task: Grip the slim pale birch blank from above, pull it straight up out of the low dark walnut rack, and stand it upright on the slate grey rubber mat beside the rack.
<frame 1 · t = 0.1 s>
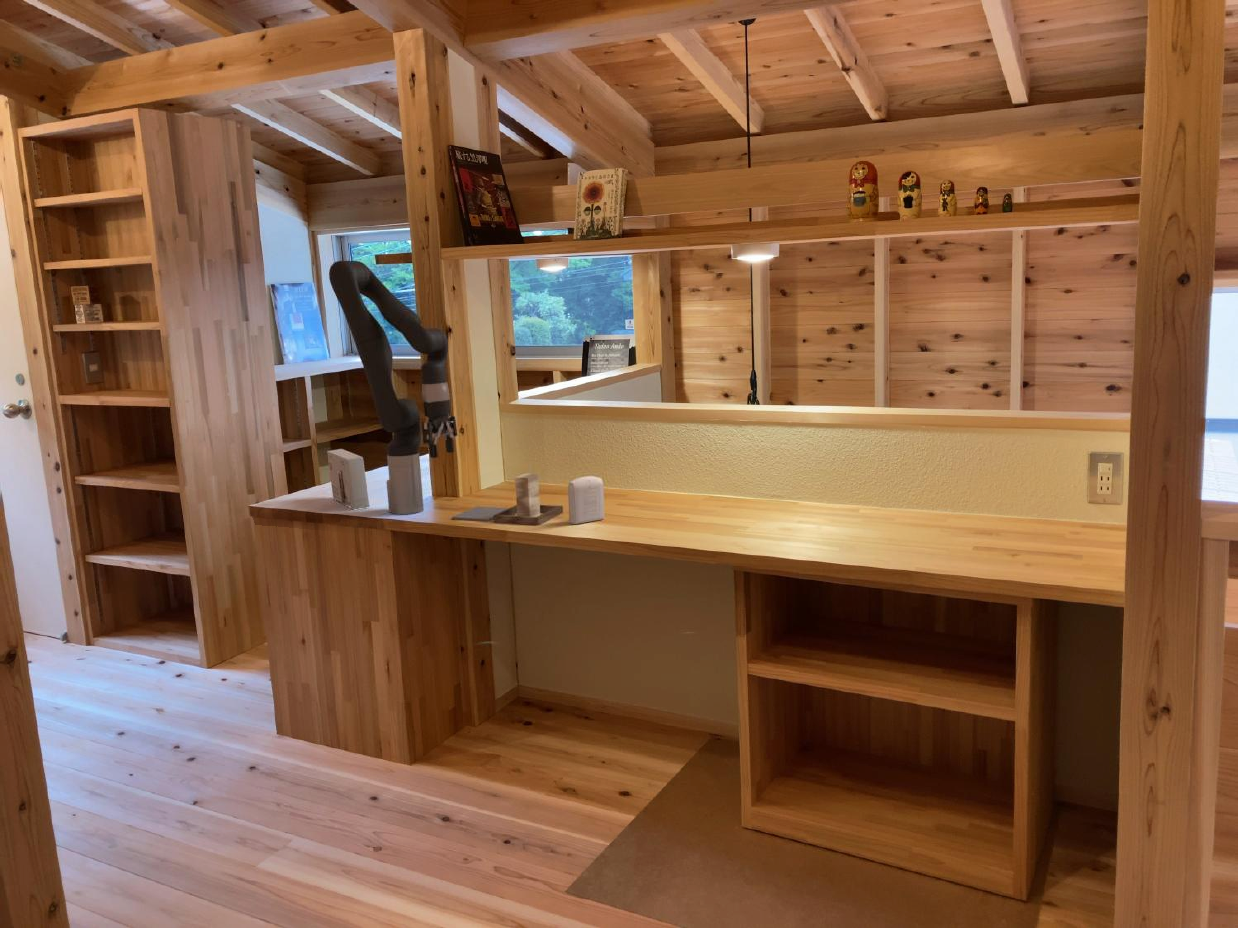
hand: (442, 455, 276), 17 cm above the worktop, tool pointing down, fingers open, 8 cm apart
photo printer: (587, 521, 263), on the worktop
birch blank: (527, 496, 269), in the walnut rack
skincare box: (350, 504, 299), on the worktop
walnut rack: (529, 517, 270), on the worktop
grey mat: (482, 514, 276), on the worktop
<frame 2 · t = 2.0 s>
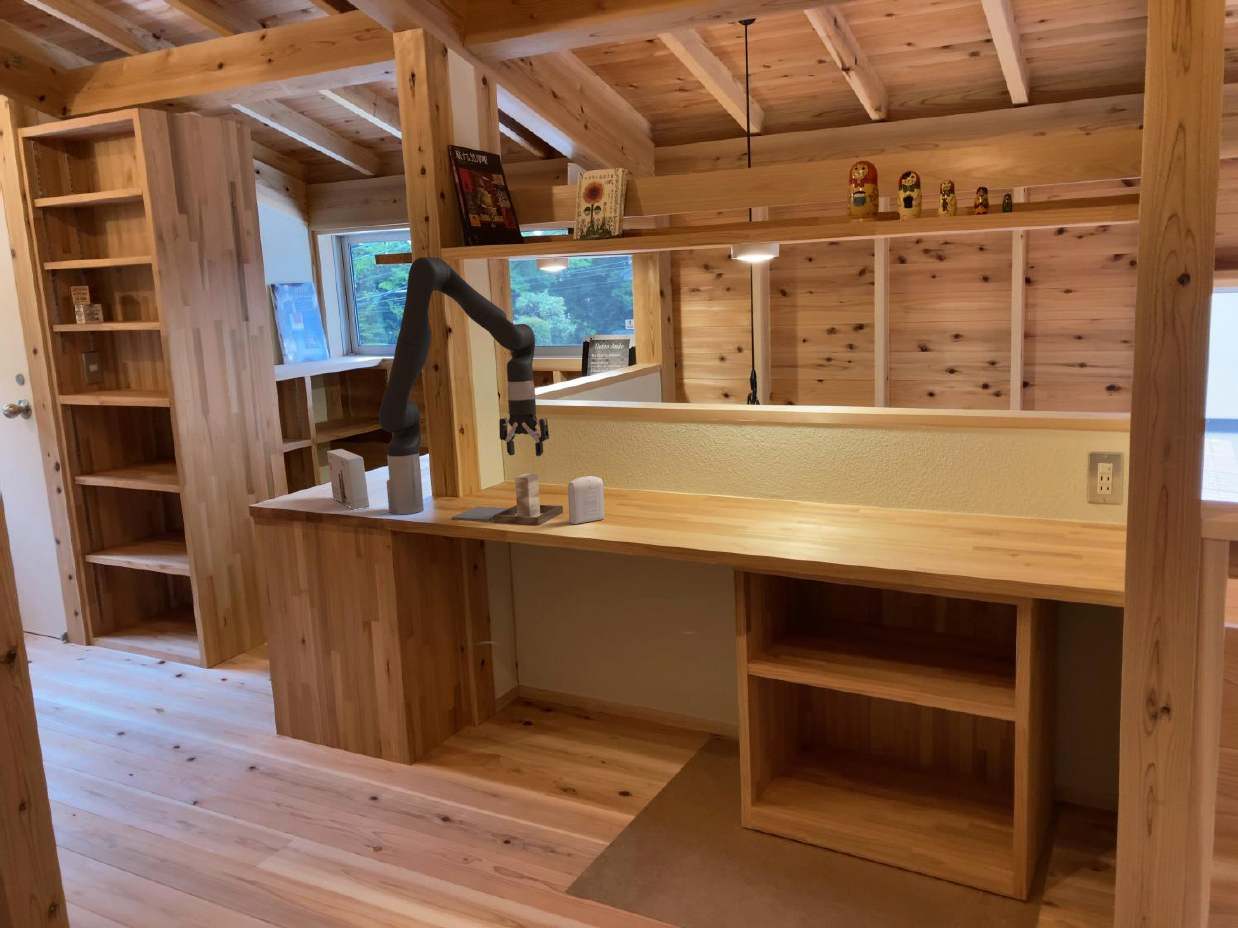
hand: (525, 455, 267), 18 cm above the worktop, tool pointing down, fingers open, 8 cm apart
nothing on the worktop moved.
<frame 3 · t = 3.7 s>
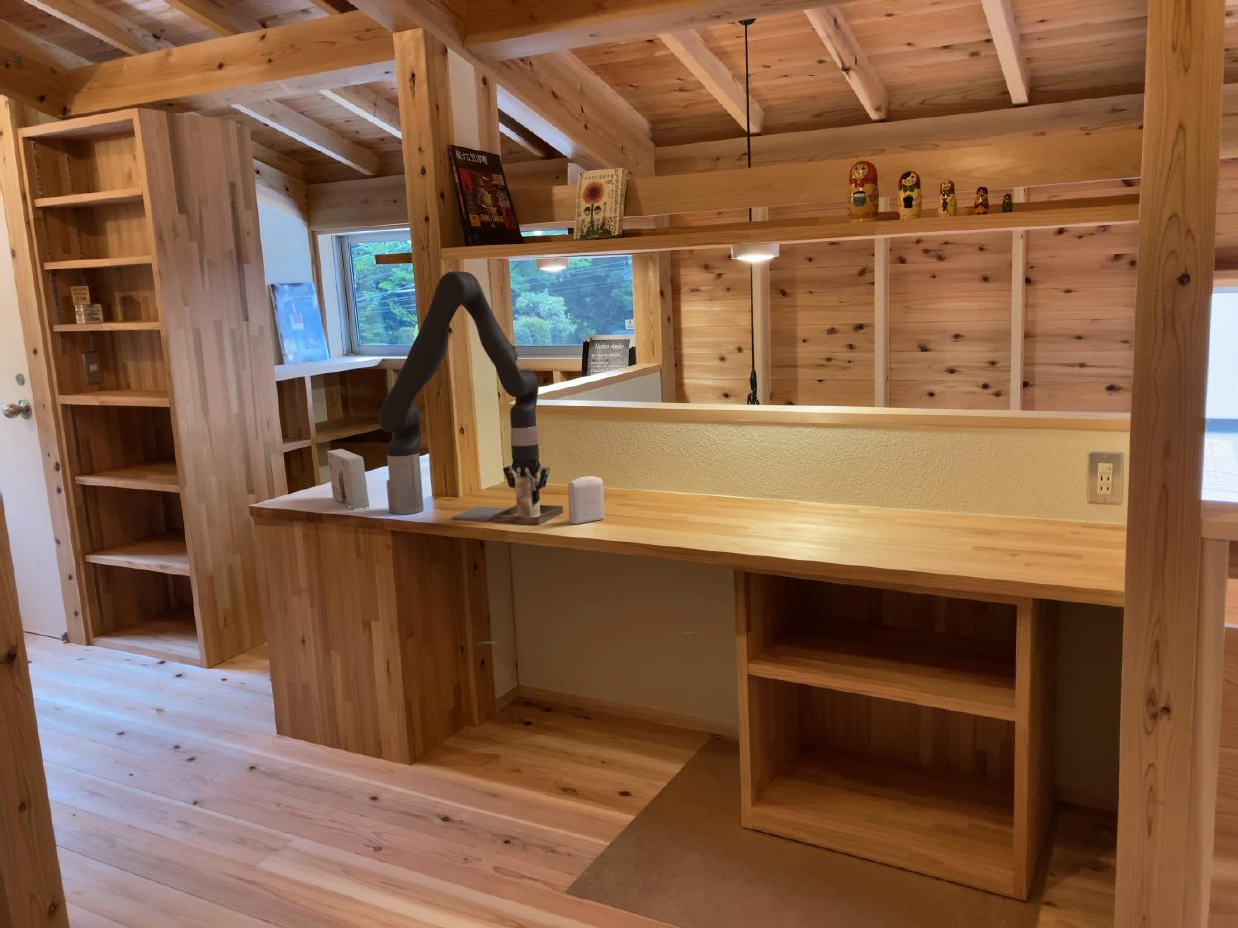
hand: (528, 502, 269), 4 cm above the worktop, tool pointing down, fingers closed on birch blank, 4 cm apart
birch blank: (527, 496, 269), in the walnut rack, touching gripper
everything else where it was.
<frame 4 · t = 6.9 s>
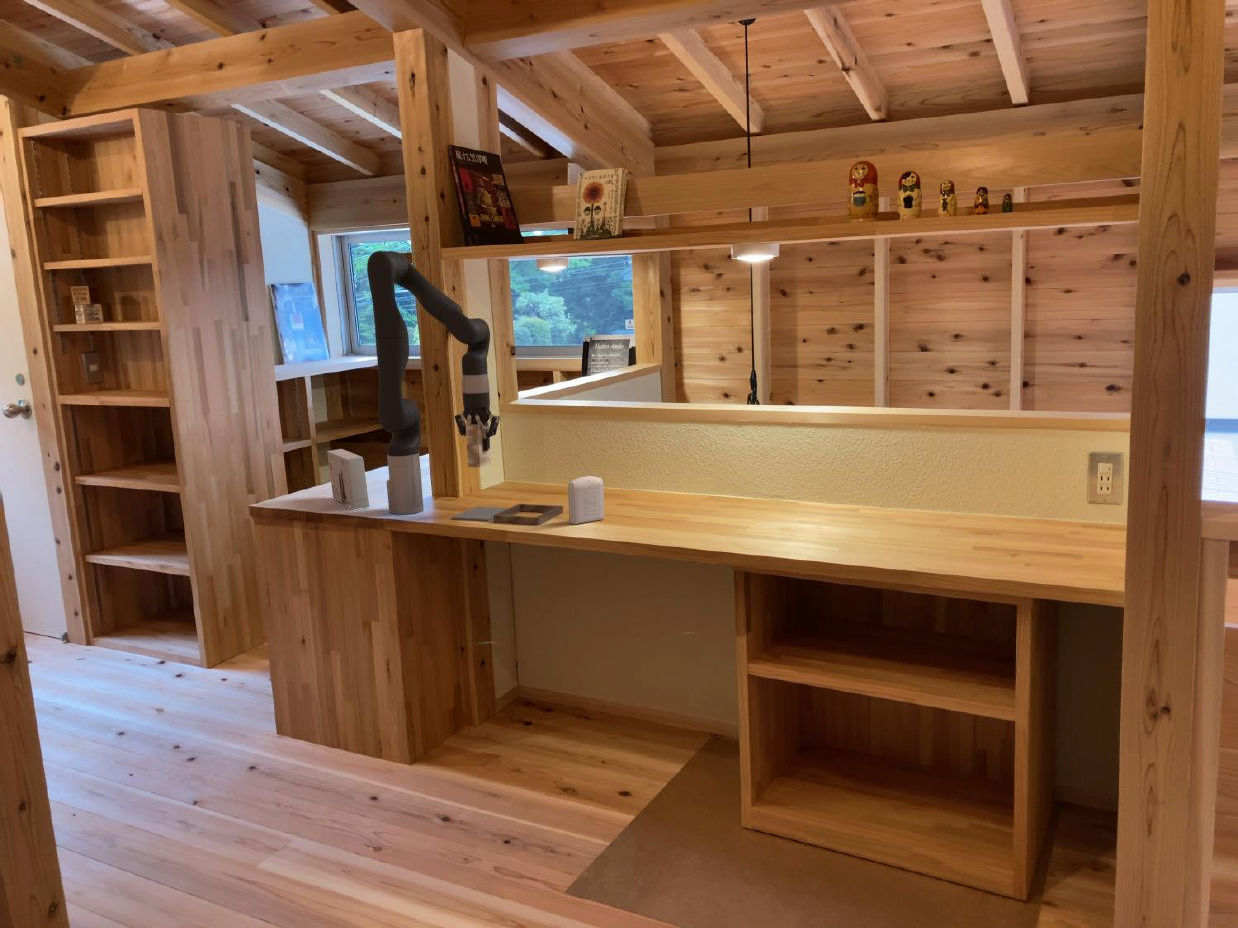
hand: (478, 450, 272), 19 cm above the worktop, tool pointing down, fingers closed on birch blank, 4 cm apart
birch blank: (478, 444, 272), point 20 cm above the worktop, touching gripper
everything else where it was.
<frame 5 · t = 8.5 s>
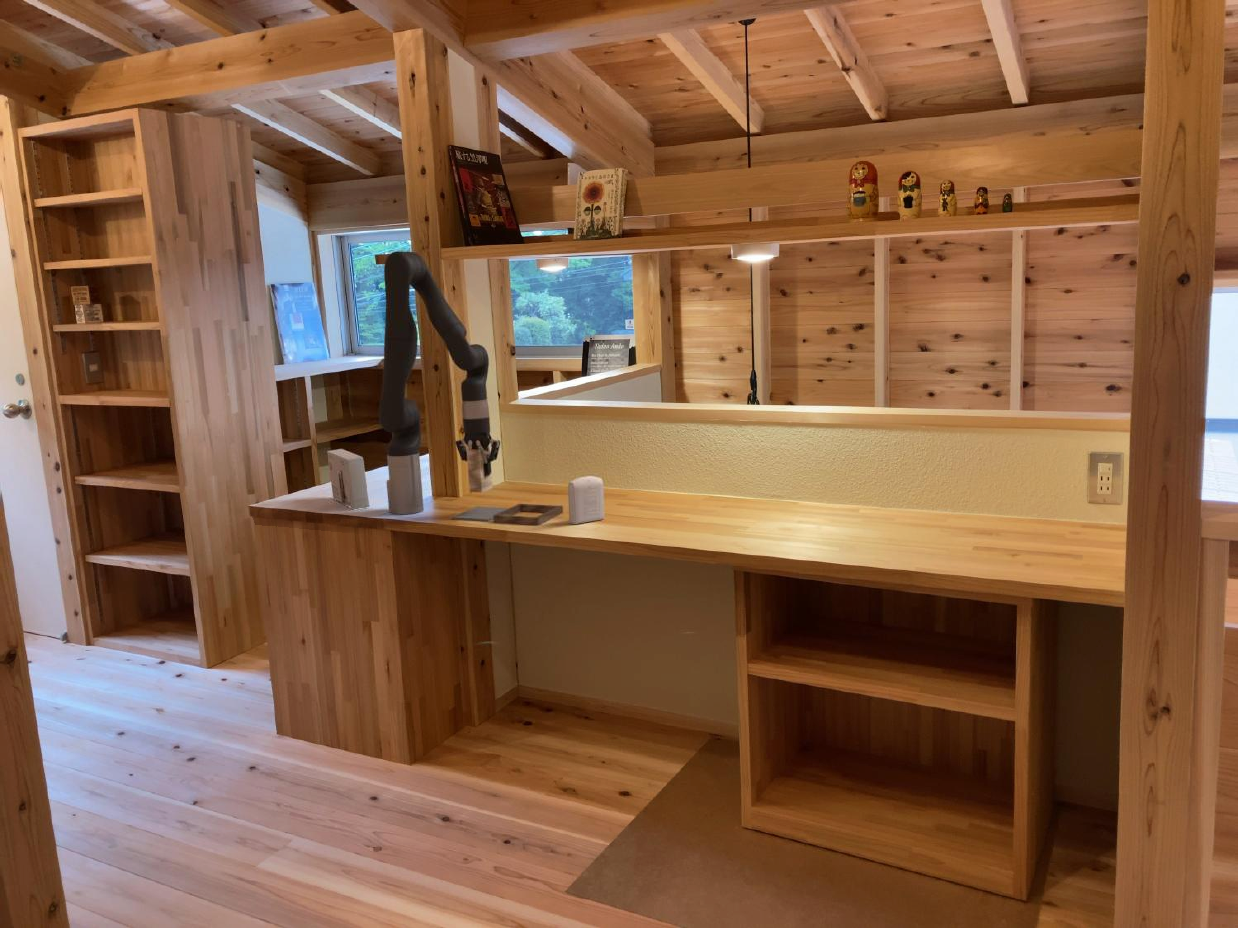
hand: (480, 475, 274), 12 cm above the worktop, tool pointing down, fingers closed on birch blank, 4 cm apart
birch blank: (479, 469, 273), point 13 cm above the worktop, touching gripper
everything else where it was.
when the fingers open (6 cm above the worktop, at t = 9.9 s): birch blank stays where it is, resting on grey mat.
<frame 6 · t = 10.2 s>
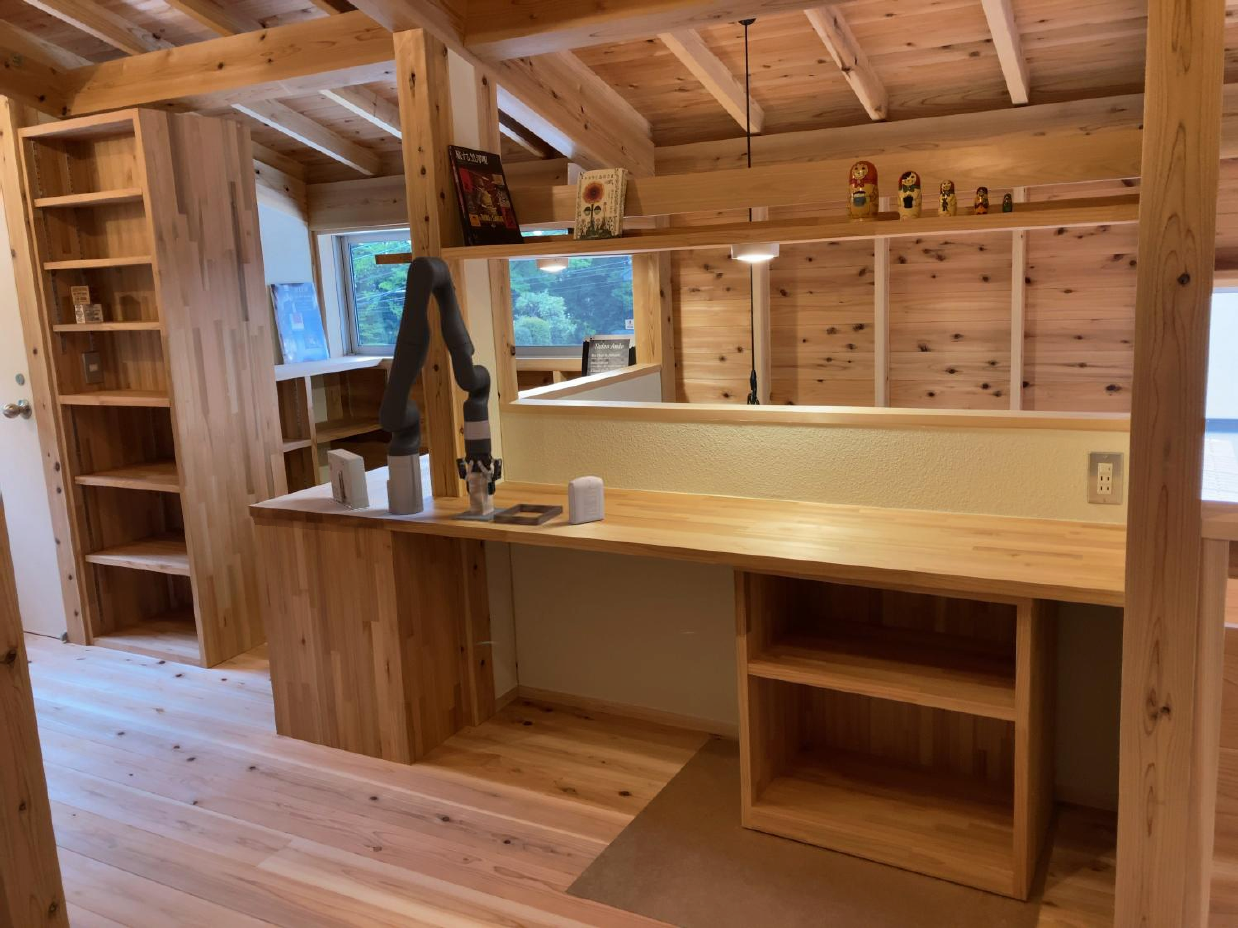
hand: (481, 493, 275), 6 cm above the worktop, tool pointing down, fingers open, 6 cm apart
birch blank: (481, 492, 275), on the grey mat, point 7 cm above the worktop
everything else where it was.
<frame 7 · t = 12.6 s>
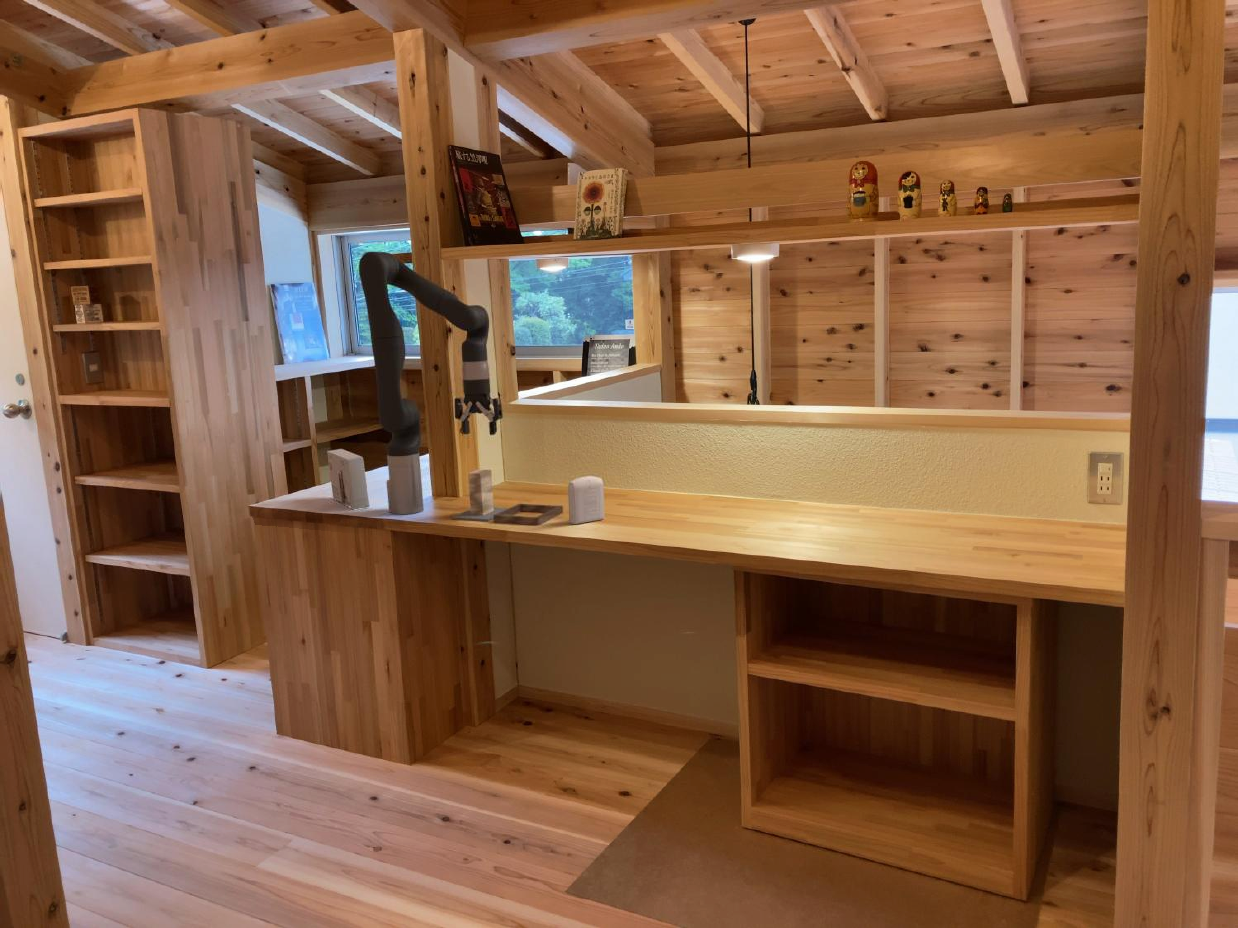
hand: (479, 434, 273), 23 cm above the worktop, tool pointing down, fingers open, 8 cm apart
nothing on the worktop moved.
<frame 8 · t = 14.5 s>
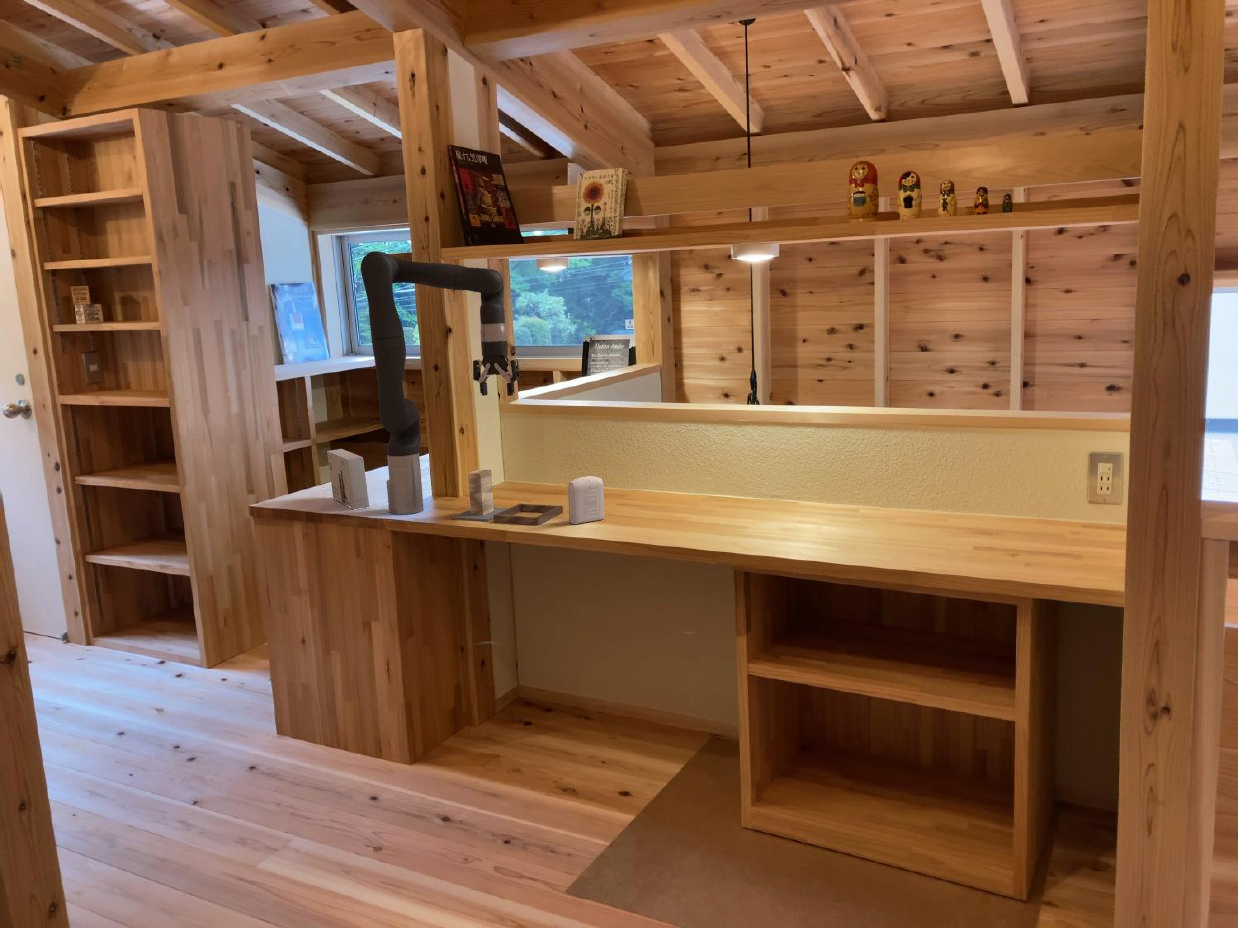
hand: (497, 395, 279), 33 cm above the worktop, tool pointing down, fingers open, 8 cm apart
nothing on the worktop moved.
at the end: birch blank inside the target area on the grey mat (0.0 cm from its centre), point 6.6 cm above the grey mat's base; birch blank tilted 0°; the gripper is holding nothing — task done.
